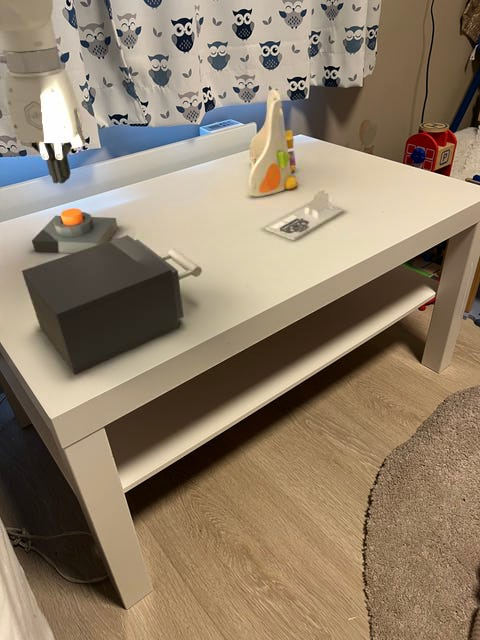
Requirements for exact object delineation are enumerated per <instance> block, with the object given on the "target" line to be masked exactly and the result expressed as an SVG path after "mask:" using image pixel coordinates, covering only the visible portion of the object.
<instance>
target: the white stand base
mask: <svg viewBox="0 0 480 640" xmlns="http://www.w3.org/2000/svg"><path fill="white" fill-rule="evenodd" d="M329 198H330V195H329V193H328V192H325V190H323V189H322V190H320V191H318V192H317V193H315V195H314V197H313V199H312V200H311V201H310V202H309V203H308V204H307V205H305V206H303V207H301V208H299V209H298V210H296V211H294V212H292V213H290V214H288V215H286V216H284V217H282V218H280V219H279V220H276V221H275V222H273V223H271V224H269V225H267V226H266V227H265V231H267V232H270V233H272V234H276V235H278V236H281V237H283V238H286V239H287V240H291V241H293V242H294V241H296V240H298V239H300V238H301V237H303V236H304V235H306V234H308V233H310V232H311V231H313V230H315V229H316V228H318V227H320V226H322V225H323V224H325V223H327V222H328V221H330V220H332V219H334V218H335V217H337V216H338V215H340V214H343V209H340V208H337V207H334V206H333V203H332V202H330V201H329Z"/></svg>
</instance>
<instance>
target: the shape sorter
mask: <svg viewBox="0 0 480 640" xmlns="http://www.w3.org/2000/svg"><path fill="white" fill-rule="evenodd" d="M281 97H282V96H281V94H280V92H279V91H278V90H277V89H276V88H272V89H270V90H269V91H268V95H267V101H266V116H265V121H264V124H263V125H262V127H261V129H259V131H258V132H257V133H256V134H255V135H254V136H253V138H252V140H251V142H250V145H249V151H248V153H249V155H248V156H249V160H250V172H249V175H248V182H247V183H248V184H247V187H248V193H249V194H250V196H252V197H263V196H269V195H274V194H277V193H280V192H282V191H284V190H290V189H293V188H295V187H297V186H298V185H299V182H298V180H297V178H296V177H295V176H293V175H292V172H294V171H295V170H296V165H297V163H296V157H295V150H292V149H294V140H295V139H294V135H293V134H294V133H293V130H286V126H285V118H284V112H283V109H282V108H283V105H282V98H281ZM289 149H291V150H290V151H289Z"/></svg>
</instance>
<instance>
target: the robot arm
mask: <svg viewBox="0 0 480 640" xmlns="http://www.w3.org/2000/svg"><path fill="white" fill-rule="evenodd" d="M53 4H54V2H53V0H0V40H1V41H0V42H1V44H2V48H3V49H2V53H1V52H0V64H5V65H6V67H7V70H8V72H5V74H4V86H5V87H4V89H5V97H6V104H7V108H8V110H7V111H8V114H9V119H10V120H9V121H10V123H11V128H12V131H13V135H14V137H15V138H16V139H17V140H18V141H19V142H20V144H21V145H22V146H24V147H28V148H33V149H34V150H35V151H36V152H38V153H39V155H40V156H41V158H42V160H45V161H46V166H47V169H48V173H49V176H50V177H51V180H52V183H53V184H58V183H59V184H64V183H66V182H67V181H68V180H69V179H70V177H71V168H70V163H69V160H68V156H69V154H70V152H71V151H72V149H76V148H81V147H83V146H84V145H85V144H86V139H85V137H84V135H83V132H84V126H83V125H84V124H83V119H82V114H81V110H80V107H79V103H78V100H77V96H76V93H75V90H74V87H73V85H72V81H71V80H70V79H71V78H70V77H69V75H68V72H67V70H66V69H63V68H62V63H61V58H60V54H59V49H58V44H57V39H56V34H55V30H54V24H53V20H52V14H53V9H54V5H53Z"/></svg>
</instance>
